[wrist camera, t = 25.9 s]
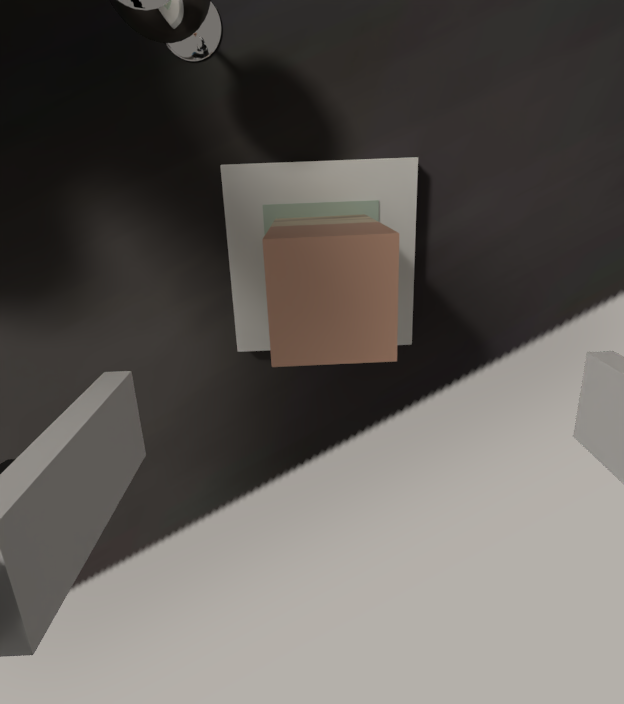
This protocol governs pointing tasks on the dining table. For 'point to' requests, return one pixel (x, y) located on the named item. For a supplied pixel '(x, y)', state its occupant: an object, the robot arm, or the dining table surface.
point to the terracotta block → (332, 293)
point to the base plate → (312, 201)
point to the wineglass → (175, 24)
